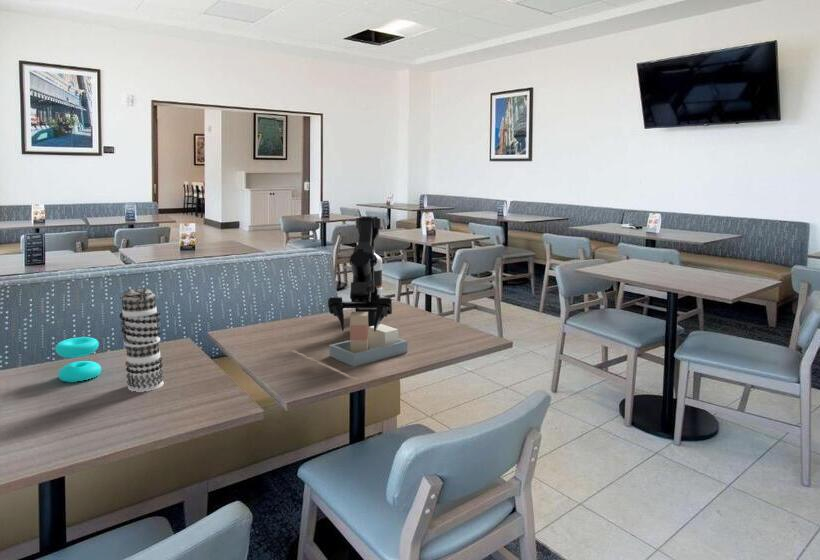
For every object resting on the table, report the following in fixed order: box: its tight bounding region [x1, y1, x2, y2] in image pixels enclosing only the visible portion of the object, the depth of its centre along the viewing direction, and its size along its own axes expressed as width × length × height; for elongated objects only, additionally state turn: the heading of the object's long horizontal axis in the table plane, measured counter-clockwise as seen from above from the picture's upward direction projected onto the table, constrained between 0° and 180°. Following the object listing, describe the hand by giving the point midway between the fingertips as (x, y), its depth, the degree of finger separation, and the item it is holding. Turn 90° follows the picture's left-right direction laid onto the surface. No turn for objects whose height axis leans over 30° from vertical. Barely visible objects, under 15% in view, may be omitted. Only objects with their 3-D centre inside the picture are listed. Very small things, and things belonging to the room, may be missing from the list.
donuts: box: [54, 336, 102, 383], centre depth 154 cm, size 10×10×10 cm
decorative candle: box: [118, 287, 165, 393], centre depth 146 cm, size 9×9×25 cm
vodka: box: [374, 241, 383, 297], centre depth 222 cm, size 9×9×30 cm
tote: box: [328, 335, 408, 367], centre depth 173 cm, size 20×12×4 cm, turn 132°
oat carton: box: [349, 311, 369, 353], centre depth 170 cm, size 5×5×13 cm
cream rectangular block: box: [368, 323, 399, 349], centre depth 176 cm, size 5×8×7 cm, turn 42°
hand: (358, 330), depth 168 cm, fingers open, 9 cm apart
